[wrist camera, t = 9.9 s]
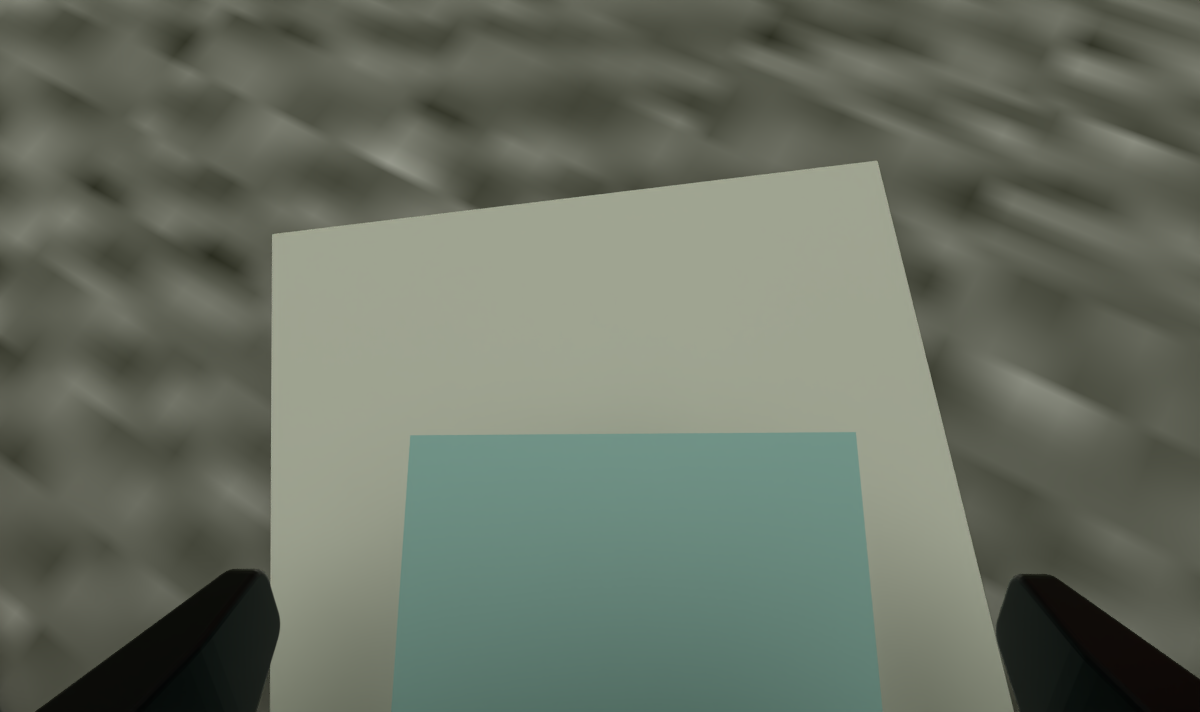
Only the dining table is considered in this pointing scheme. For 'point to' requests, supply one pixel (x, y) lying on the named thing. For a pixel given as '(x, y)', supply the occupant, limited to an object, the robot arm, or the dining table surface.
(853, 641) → the tall teal block
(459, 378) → the mat
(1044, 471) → the dining table surface
